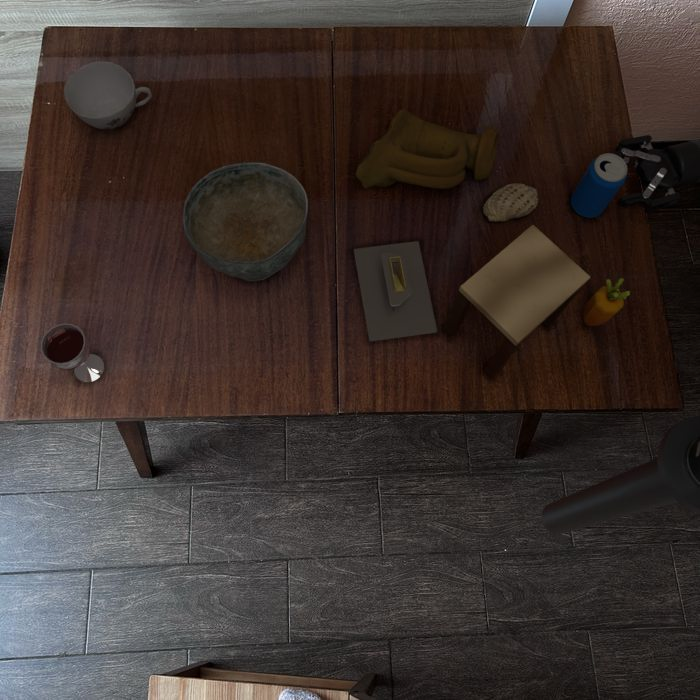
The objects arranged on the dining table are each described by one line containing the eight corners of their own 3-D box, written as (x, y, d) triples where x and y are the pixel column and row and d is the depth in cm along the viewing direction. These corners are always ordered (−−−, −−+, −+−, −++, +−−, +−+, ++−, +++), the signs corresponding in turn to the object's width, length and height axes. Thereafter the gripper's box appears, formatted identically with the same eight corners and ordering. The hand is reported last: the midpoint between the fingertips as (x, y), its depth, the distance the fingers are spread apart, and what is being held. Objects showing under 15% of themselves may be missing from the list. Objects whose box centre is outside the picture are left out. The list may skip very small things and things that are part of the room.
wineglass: (110, 348, 118) (87, 322, 107) (108, 386, 116) (83, 364, 104) (70, 349, 118) (42, 323, 106) (66, 388, 115) (38, 365, 104)
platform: (418, 241, 126) (422, 222, 120) (437, 332, 120) (443, 318, 114) (353, 249, 125) (354, 231, 119) (369, 341, 120) (371, 327, 113)
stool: (554, 321, 122) (590, 277, 105) (491, 379, 118) (518, 342, 101) (505, 274, 125) (532, 224, 108) (442, 329, 121) (460, 286, 104)
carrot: (567, 315, 122) (598, 278, 108) (592, 306, 123) (627, 268, 109) (580, 340, 121) (613, 306, 106) (605, 331, 121) (642, 296, 107)
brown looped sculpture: (388, 81, 129) (505, 101, 124) (387, 141, 139) (495, 162, 134) (354, 135, 118) (481, 159, 113) (355, 196, 128) (472, 221, 123)
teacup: (79, 148, 131) (64, 120, 124) (77, 94, 135) (62, 64, 128) (160, 138, 132) (149, 110, 125) (155, 85, 136) (145, 55, 129)
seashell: (508, 240, 130) (546, 199, 128) (506, 235, 124) (546, 191, 123) (477, 214, 132) (514, 173, 130) (474, 207, 126) (512, 164, 124)
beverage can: (578, 184, 131) (601, 145, 120) (609, 199, 130) (635, 162, 119) (563, 209, 129) (586, 172, 118) (595, 225, 128) (620, 189, 117)
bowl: (323, 223, 127) (322, 176, 113) (288, 316, 121) (282, 278, 107) (222, 193, 129) (209, 143, 114) (182, 283, 122) (163, 242, 108)
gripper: (685, 117, 124) (602, 136, 122) (720, 183, 120) (634, 204, 118) (666, 143, 131) (587, 161, 129) (698, 206, 127) (617, 226, 125)
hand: (609, 182), depth 124 cm, fingers open, 8 cm apart
